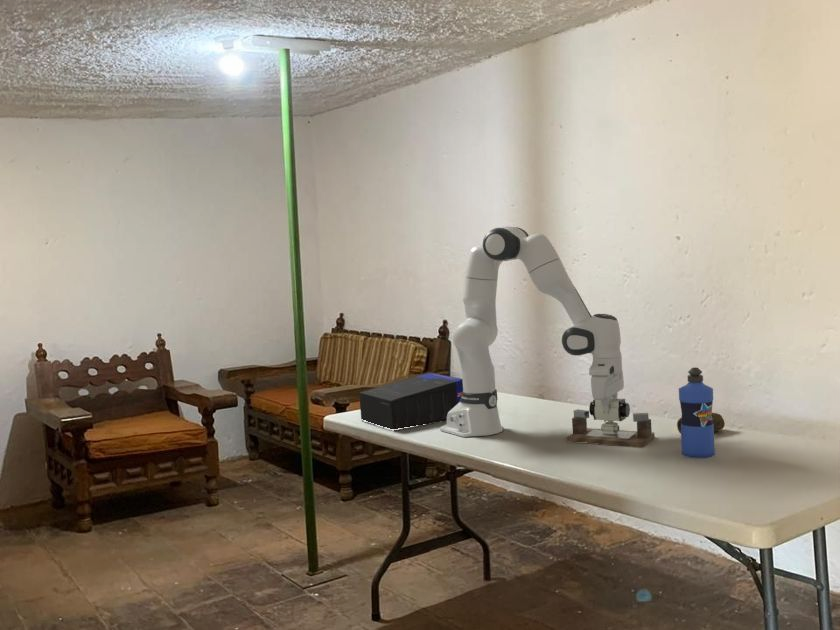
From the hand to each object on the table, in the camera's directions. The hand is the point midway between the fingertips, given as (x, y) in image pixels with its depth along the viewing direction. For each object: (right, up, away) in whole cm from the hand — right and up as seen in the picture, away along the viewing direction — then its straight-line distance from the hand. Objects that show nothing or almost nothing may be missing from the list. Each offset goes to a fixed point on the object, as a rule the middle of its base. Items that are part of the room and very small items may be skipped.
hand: (609, 409), depth 258 cm
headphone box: (-61, -10, +52) cm, 81 cm away
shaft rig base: (+1, -10, +1) cm, 10 cm away
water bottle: (+21, -11, -21) cm, 31 cm away
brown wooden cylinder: (+29, -8, +1) cm, 30 cm away
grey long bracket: (0, -8, +1) cm, 8 cm away
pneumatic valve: (0, -8, +1) cm, 8 cm away
